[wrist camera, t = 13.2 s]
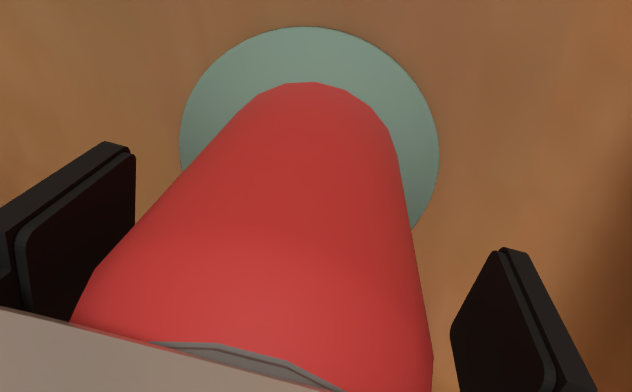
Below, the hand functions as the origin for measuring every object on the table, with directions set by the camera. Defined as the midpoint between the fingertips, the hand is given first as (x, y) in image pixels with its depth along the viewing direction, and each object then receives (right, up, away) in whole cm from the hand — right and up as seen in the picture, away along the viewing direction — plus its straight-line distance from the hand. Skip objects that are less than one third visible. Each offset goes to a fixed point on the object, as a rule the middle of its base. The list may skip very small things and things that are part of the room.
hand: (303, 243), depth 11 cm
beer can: (0, +3, +6) cm, 6 cm away
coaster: (0, +3, +6) cm, 7 cm away
